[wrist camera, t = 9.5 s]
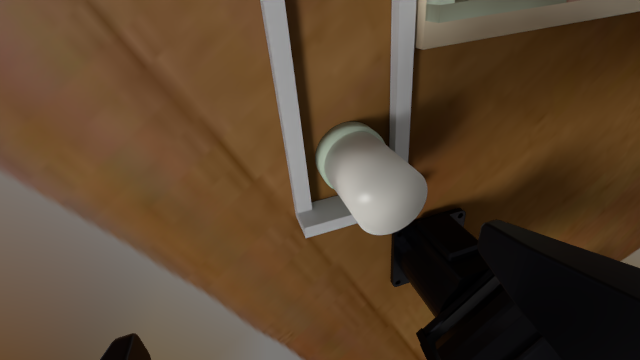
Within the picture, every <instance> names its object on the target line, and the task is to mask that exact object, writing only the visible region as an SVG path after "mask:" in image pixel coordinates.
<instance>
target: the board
mask: <svg viewBox="0 0 640 360" xmlns="http://www.w3.org/2000/svg"><path fill="white" fill-rule="evenodd" d="M638 11H640V0H416V19H415V39H414V47H415V48H419V49H422V50H424V49H429V48H435V47H441V46H446V45H452V44H458V43H463V42H469V41H474V40H480V39H486V38H491V37H497V36H503V35H508V34H514V33H520V32H525V31H531V30H537V29H542V28H548V27H554V26H559V25H565V24H571V23H576V22H582V21H587V20H593V19H599V18H604V17H610V16H616V15H621V14H627V13H633V12H638Z"/></svg>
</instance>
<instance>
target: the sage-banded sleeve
mask: <svg viewBox="0 0 640 360" xmlns="http://www.w3.org/2000/svg"><path fill="white" fill-rule="evenodd" d="M315 162H316V167H317V169H318V171H319V173H320V174H321V176H322V177H323V179H324V180H325V182H326V183H327V184H328V185H329V186H330V187H331V188H333V189H335V191H336V192H337V193H338V195H339V196H340V198H341V199H342V201H343V202H344V204H345V205H346V206H347V208H348V209H349V211H350V212H351V214H352V215H353V217H354V218H355V220H356V221H357V222H358V224H359V225H360V227H361V228H362V229H363V230H365V231H366V232H368V233H370V234H374V235H387V234H391V233H394V232H397V231H399V230H401V229H402V228H404V227H406V226H407V225H408V224H410V223H411V222H412V221H413V220H414V219H415V218H416V217H417V216H418V214H419V213H420V211H421V210H422V208H423V206H424V204H425V201H426V198H427V184H426V181H425V179H424V177H423V176H422V175H421V174H420V173H419V172H418V171H417V170H416V169H414V168H413V167H412V166H411V165H409V164H408V163H407V162H406V161H405V160H403V159H402V158H401V157H400V156H399V155H397V154H396V153H395V152H394V151H393V150H391V149H390V148H389V147H388V146H387V145H385V143H384V141H383V139H382V138H381V136H380V135H379V134H377V133H376V132H375V131H374V130H372V129H371V128H370V127H369V126H367V125H366V124H363V123H361V122H355V121H350V122H344V123H341V124H339V125H336V126H335V127H333V128H332V129H330V130H329V131H328V132H327V133H326V134H325V135H324V136H323V137H322V139H321V140H320V142H319V144H318V146H317V149H316V154H315Z"/></svg>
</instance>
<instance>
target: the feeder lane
mask: <svg viewBox="0 0 640 360" xmlns="http://www.w3.org/2000/svg"><path fill="white" fill-rule="evenodd" d="M260 2H261V8H262V14H263V20H264V26H265V32H266V38H267V44H268V50H269V56H270V62H271V68H272V74H273V80H274V86H275V92H276V98H277V104H278V110H279V116H280V122H281V128H282V134H283V140H284V146H285V152H286V158H287V164H288V170H289V176H290V182H291V188H292V194H293V200H294V206H295V212H296V217H297V219H298V222H299V224H300V226H301V228H302V231H303V233H304V235H305V237H306V238H308V237H312V236H315V235H319V234H322V233H325V232H329V231H332V230H336V229H339V228H343V227H346V226H349V225H353V224H356V223H358V222H357V221H356V220H355V218H354V217H353V215H352V214H351V212H350V211H349V209H348V208H347V206H346V205H345V204H344V202H343V201H342V199H341V198H340V196H339V195H338V196H334V197H330V198H326V199H323V200H319V201H315V202H311V197H310V189H309V181H308V174H307V166H306V159H305V151H304V144H303V136H302V129H301V121H300V114H299V106H298V99H297V91H296V84H295V76H294V68H293V61H292V53H291V46H290V38H289V31H288V23H287V16H286V8H285V1H284V0H260ZM415 19H416V0H392V21H391V79H390V136H389V148H390V149H391V150H393V151H394V152H395V153H396V154H397V155H399V156H400V157H401V158H402V159H403V160H405V161H406V162H407V163H408V155H409V135H410V116H411V97H412V77H413V58H414V39H415Z"/></svg>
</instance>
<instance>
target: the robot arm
mask: <svg viewBox="0 0 640 360" xmlns="http://www.w3.org/2000/svg"><path fill="white" fill-rule="evenodd" d="M465 215H466V212H465V211H464V210H463V209H461V208H457V209H454V210H451V211H447V212H444V213H441V214H437V215H434V216H431V217H427V218H424V219H421V220H417V221H414V222H411V223H410V224H408V225H407V226H406V227H404V228H402V229H401V230H399V231H397V232H394V233H392V249H391V283H392V284H393V286H394V287H397V286H400V285H403V284H406V283H409V282H410V283H411V285H412V286H413V287H414V289H415V290H416V291H417V293H418V294H419V296H420V297H421V298H422V300H423V301H424V302H425V304H426V305H427V307H428V308H429V309H430V311H431V312H432V313H433V315H434V316H435V318H434V319H433V320H432V321H431V322H430V323H429V324H428V325H427V326H425V327H424V328H423V329H422V328H421V329H420V330H419V331H418V332H417V333H416V335H417V337H418V339H419V341H420V343H421V344H420V346H421V348H422V350H423V352H424V354H425V357H426V359H427V360H640V268H637V267H635V266H632V265H629V264H626V263H623V262H620V261H617V260H614V259H611V258H608V257H605V256H603V255H600V254H597V253H594V252H591V251H588V250H585V249H582V248H579V247H576V246H573V245H570V244H568V243H565V242H562V241H559V240H556V239H553V238H550V237H547V236H544V235H541V234H538V233H536V232H533V231H530V230H527V229H524V228H521V227H518V226H515V225H512V224H509V223H506V222H503V221H501V220H492V221H489V222H486V223H484V224H483V225H482V226H481V230H480V235H479V239H478V240H477V239H476V238H475V237H474V236H473V235H471V234H470V233H469V232H468V231H467V230H466V229H465V228H464V227H463V226H464V221H465ZM100 360H151V358H150V354H149V353H148V351H147V349H146V348H145V346H144V344H143V343H142V341H141V339H140V338H139V336H138V335H137V334H134V333H132V334H129V335H126V336H122V337H119V338H117V339H115V340H114V341H113V342H112V343H111V344H110V346H109V347H108V349H107V350H106V352H105V353H104V355H103V356H102V357H101V359H100Z"/></svg>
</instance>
